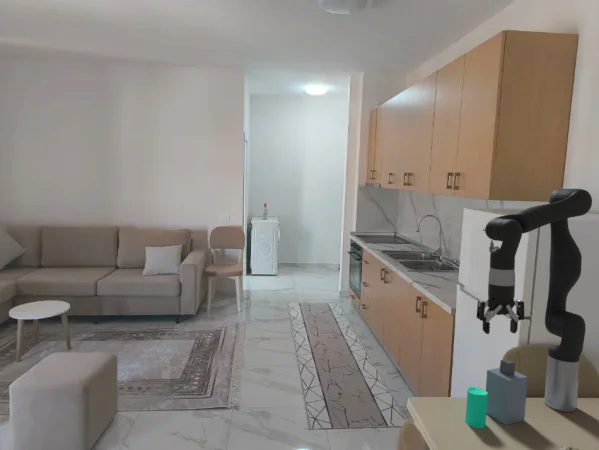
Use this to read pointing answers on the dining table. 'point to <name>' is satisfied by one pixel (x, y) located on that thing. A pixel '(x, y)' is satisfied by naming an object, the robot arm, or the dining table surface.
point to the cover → (506, 393)
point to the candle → (476, 407)
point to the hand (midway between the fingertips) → (499, 332)
